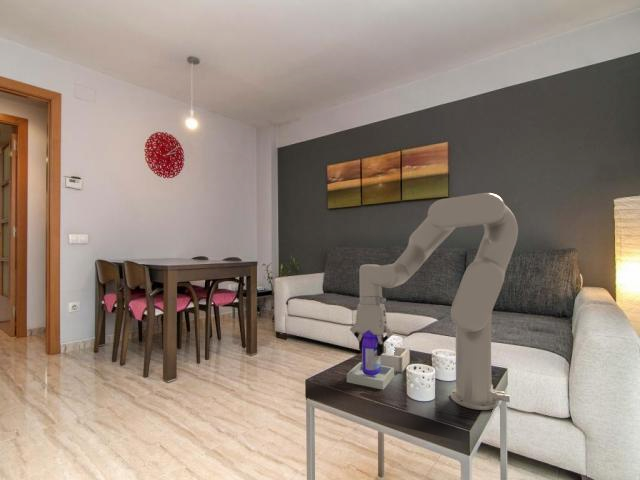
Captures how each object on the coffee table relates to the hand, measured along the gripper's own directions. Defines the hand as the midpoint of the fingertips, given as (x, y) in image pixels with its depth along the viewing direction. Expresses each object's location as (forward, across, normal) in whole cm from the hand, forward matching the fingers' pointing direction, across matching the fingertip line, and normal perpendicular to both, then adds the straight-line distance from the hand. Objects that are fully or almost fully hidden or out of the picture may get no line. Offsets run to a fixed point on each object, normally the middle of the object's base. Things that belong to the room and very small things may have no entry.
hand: (371, 352), depth 115 cm
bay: (+9, -2, -16) cm, 18 cm away
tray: (+9, 0, 0) cm, 9 cm away
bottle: (+7, 0, 0) cm, 7 cm away
